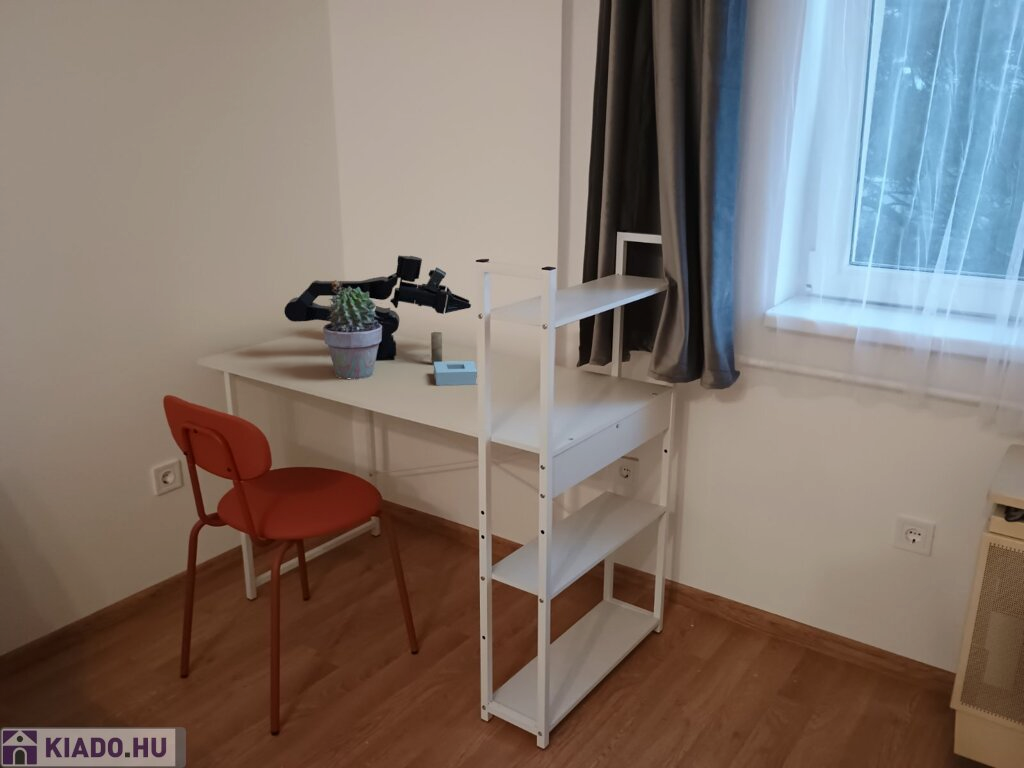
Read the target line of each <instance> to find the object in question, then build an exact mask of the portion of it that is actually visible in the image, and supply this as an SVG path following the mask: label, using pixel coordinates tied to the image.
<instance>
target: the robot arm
mask: <svg viewBox="0 0 1024 768" xmlns="http://www.w3.org/2000/svg"><path fill="white" fill-rule="evenodd" d="M422 262H423V259H422V258H421V257H417V256H413V255H410V256H409V255H398V256H397V266H396V270H395V271H396V272H395V273H392V274H391V275H388V276H378V277H372V278H367V279H364V280H337V281H338V282H339V283H340V285H341V284H342V283H344V284H342V285H341V288H342V291H343V289H344V288H346V289H347V288H348V287H349V286H350V287H351V288H352V289H355V290H356V288H358V287H359V288H360V290H361V292H363V293H366V292H369V298H370V299H373V300H379V301H385V300H388V299H389V298H390V297H391V296H392V293H393V290H394V293H393V297H392V298H391V299H389V302H390V303H391V304H392V305H393V306H394V308H395V309H397V308H398V307H399V303H400V302H402V303H407V304H411V305H417V307H422V306H423V307H428V308H431V309H433V310H434V311H435V312H436V313H437V314H441V315H444V314H448V313H452V312H457V311H462V310H466V309H471V306H472V304H471V303H470V300H469V299H468V298H465V297H463V296H460V295H457V294H455V293H453V292H452V291H451V289H450V287H448V286H447V285H443V284H441V283H442V281H443V279H445V278H446V275H447V273H446V272H445V271H444V270H442V269H441V268H439V267H435V269H430V270H429V272H428V277H429V279H428V281H427V283H422V284H418V283H415V282H416V280H418V279H420V274H421V268H422ZM399 279H400V281H399V286H398V287H395V286H397V284H398V280H399ZM332 281H333V280H325V281H324V280H318V279H317V280H313V281H312V282H311V283H310V284H309V286H308V287H307V288H306V289H305V290H303V292H302V293H301V294H300V295H299V296H298V297H293V298H291V299H290V300H289V301H288V303H287V304H286V305H285V306H284V309H283V311H284V315H285V318H287V319H288V320H289V321H290V322H293V323H294V322H295V323H296V322H297V323H298V322H310V321H323V322H330V321H329V319H330V318H331V317H329V316H330V315H331V314H332V312H330V311H328V310H329V309H330V308H331V306H330V305H320V304H317V303H315V300H316V299H317V298H318V297H320V296H324V297H326V296H329V297H330V296H331V297H333V296H336V295H337V294H336V293H335V292H333V291H332V290H333V288H332ZM346 285H347V286H346ZM343 287H344V288H343ZM326 306H327V307H326ZM319 307H321V308H319ZM380 307H381V308H380ZM375 309H376V310H375ZM375 309H374V310H373V311H374V312H375V314H376V316H378V317H374V319H375V320H378V323H379V324H381V326H383V327H382V340H381V342H380V343H379V346H378V351H377V356H376V360H375V361H378V360H379V361H381V360H382V361H383V360H385V361H386V360H388V361H389V360H390V361H391V360H395V357H396V356H397V341H396V340H395V339H394V335H393V334H394V333H396V332H397V330H398V329H399V326H400V316H399V314H398V313H397V312H396V311H395V310H392V309H391V307H385V308H384V307H382V306H378V307H376V306H375ZM327 317H329V318H327ZM379 317H380V318H379ZM384 322H385V323H384Z"/></svg>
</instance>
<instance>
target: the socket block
mask: <svg viewBox="0 0 1024 768" xmlns="http://www.w3.org/2000/svg"><path fill="white" fill-rule="evenodd" d="M476 367H477V364H476V362H475V361H474V360H459V361H458V360H457V361H456V360H454V361H451V360H450V361H442V362H434V365H433V377H434V381H435V385H436V386H437V387H438V386H466V385H467V386H469V385H477V384H476V378H477V369H478V367H477V368H476Z"/></svg>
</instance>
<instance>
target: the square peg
mask: <svg viewBox="0 0 1024 768" xmlns="http://www.w3.org/2000/svg"><path fill="white" fill-rule="evenodd" d="M430 341H431V342H430V344H431V345H430V346H431V351H430V353H431V357H430V359H431V366H434V362H443V333H442V332H439V331H438V332H437V331H434V332H430Z"/></svg>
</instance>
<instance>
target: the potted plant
mask: <svg viewBox="0 0 1024 768" xmlns="http://www.w3.org/2000/svg"><path fill="white" fill-rule="evenodd" d="M331 281H332V288H333V290H332V291H333V292H335V293H336V294H337V295H336V299H333V297H332V298H329V299H328V300H329V302H330V303H329V304H330V305H329V307H331V308H330V309H329V310H328V311H330V312H332V314H331V315H330V316H329V317H331V318H330V319H329V321H328V322H330V323H327V324H325V325H324V326H323V327H322V330H323V338H324V344H326V345H327V349H328V351H329V355H330V358H331V359H330V360H331V362H332V367H333V369H334V372H335V373H334V374H335V376H336V375H337V376H338V377H337V376H336V377H337V378H339V377H341V378H340V379H343V378H351V379H350V380H357V379H356V378H362V379H366V378H365V377H367V378H369V376H370V377H371V376H373V375H374V370H375V365H376V361H377V360H376V356H377V351H378V346H379V343H380V342H381V340H382V327H383V326H381V324H379V323H378V320H375V319H374V317H378V316H376V314H375V312H374V311H375V310H376V307H380V308H381V307H382V306H378V305H377V304H378V302H376V301H375V302H374V301H373V300H372V299H371V298H369V292H366V293H363V292H361V290H360V288H359V287H358V288H356V290H355V289H352V288H351V287H350V286H349V287H348V288H347V289H346V288H344V287H343V288H344V289H343V291H342V288H341V285H342V284H344V283H342V284H341V285H340V283H339V282H338V281H339V280H331ZM346 286H347V285H346ZM331 302H332V303H331ZM333 303H334V304H333ZM376 303H377V304H376ZM381 304H383V303H381ZM325 306H326V307H327V306H328V305H325ZM319 308H321V307H319ZM329 317H327V318H329ZM379 318H380V317H379ZM384 323H385V322H384ZM354 378H355V379H354Z"/></svg>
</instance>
